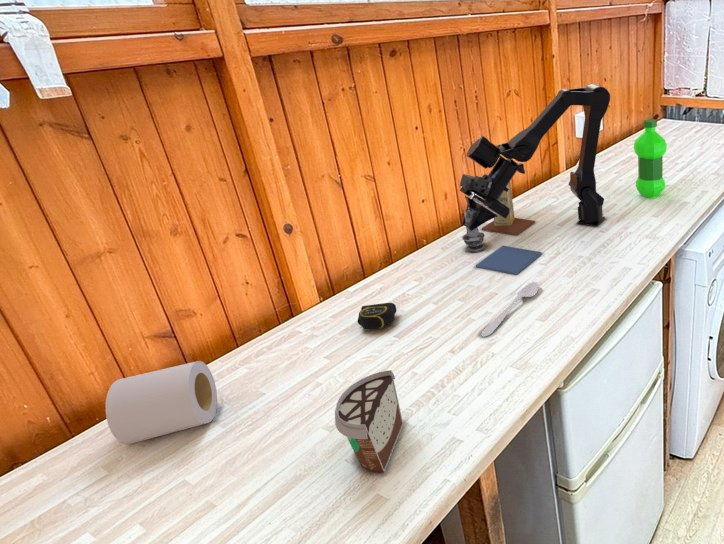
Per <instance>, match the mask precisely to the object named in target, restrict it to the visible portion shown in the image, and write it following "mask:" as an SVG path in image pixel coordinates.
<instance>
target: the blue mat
mask: <svg viewBox="0 0 724 544" xmlns="http://www.w3.org/2000/svg"><path fill="white" fill-rule="evenodd" d="M541 255H542V251H538V250H531V249H524V248H519V247H515V246H508V245H502V246H500V247H499V248H498V249H497V250H495V251H493V252H492V253H491V254H489V255H487V257H485V258H484V259H482V260H481V261H479V262H477V263H476V264H475V267H476V268H479V269H484V270H489V271H496V272H500V273H505V274H509V275H515V276H516V275H518V274H520V272H522V271H523V270H524V269H525V268H526V267H527V266H529V265H530V264H531V263H533V262H534V261H535V260H536V259H537V258H538V257H540V256H541Z"/></svg>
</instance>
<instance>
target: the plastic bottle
mask: <svg viewBox="0 0 724 544" xmlns="http://www.w3.org/2000/svg"><path fill="white" fill-rule="evenodd" d="M642 122H643V123H642V126H643V128H644V132H642V134H640V135H639V136H638V137H637V138H636V139H635V140H634V143H633V149H634V153H635V154H636V155H637V166H638V167H637V169H638V172H637V173H638V175H637V176H638V177H637V179H636V180H635V188H636V190H637V191H638V193H639V194H640V195H641V196H643V197H644V198H646V199H654V198H657V197H659V195H660V194H661V193H663V191H664V190H665V188H666V180H665V179H664V177H663V160H664V158H663V156H664V155H666V152H667V149H668V147H667V146H668V144H667V142H666V139H664V137H663V136H661V135H660V134H659V133H658V132H657V131H656V128H657V127H658V120H657V119H655V118H648V119H644V120H642Z"/></svg>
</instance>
